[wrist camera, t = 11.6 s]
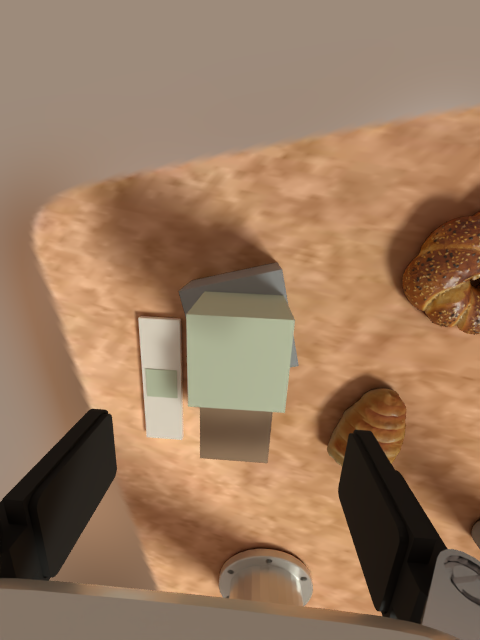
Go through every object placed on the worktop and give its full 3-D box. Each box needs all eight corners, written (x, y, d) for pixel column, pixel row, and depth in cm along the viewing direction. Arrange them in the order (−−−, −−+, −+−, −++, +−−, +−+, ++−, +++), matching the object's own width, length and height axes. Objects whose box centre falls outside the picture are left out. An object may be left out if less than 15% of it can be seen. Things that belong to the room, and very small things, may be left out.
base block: (291, 342, 27) (298, 365, 23) (213, 356, 28) (204, 381, 23) (277, 261, 25) (282, 269, 20) (192, 279, 26) (178, 291, 21)
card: (183, 435, 31) (181, 440, 31) (148, 433, 31) (146, 437, 31) (181, 318, 27) (179, 320, 26) (140, 316, 27) (137, 318, 26)
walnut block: (265, 419, 30) (267, 463, 24) (210, 415, 30) (200, 457, 25) (269, 369, 28) (273, 405, 22) (211, 366, 28) (200, 400, 23)
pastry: (352, 376, 28) (367, 398, 24) (415, 392, 28) (439, 416, 25) (321, 447, 31) (330, 476, 27) (378, 461, 31) (395, 491, 28)
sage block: (277, 366, 23) (284, 412, 17) (204, 362, 23) (188, 406, 17) (283, 295, 21) (294, 320, 15) (204, 291, 21) (186, 314, 15)
